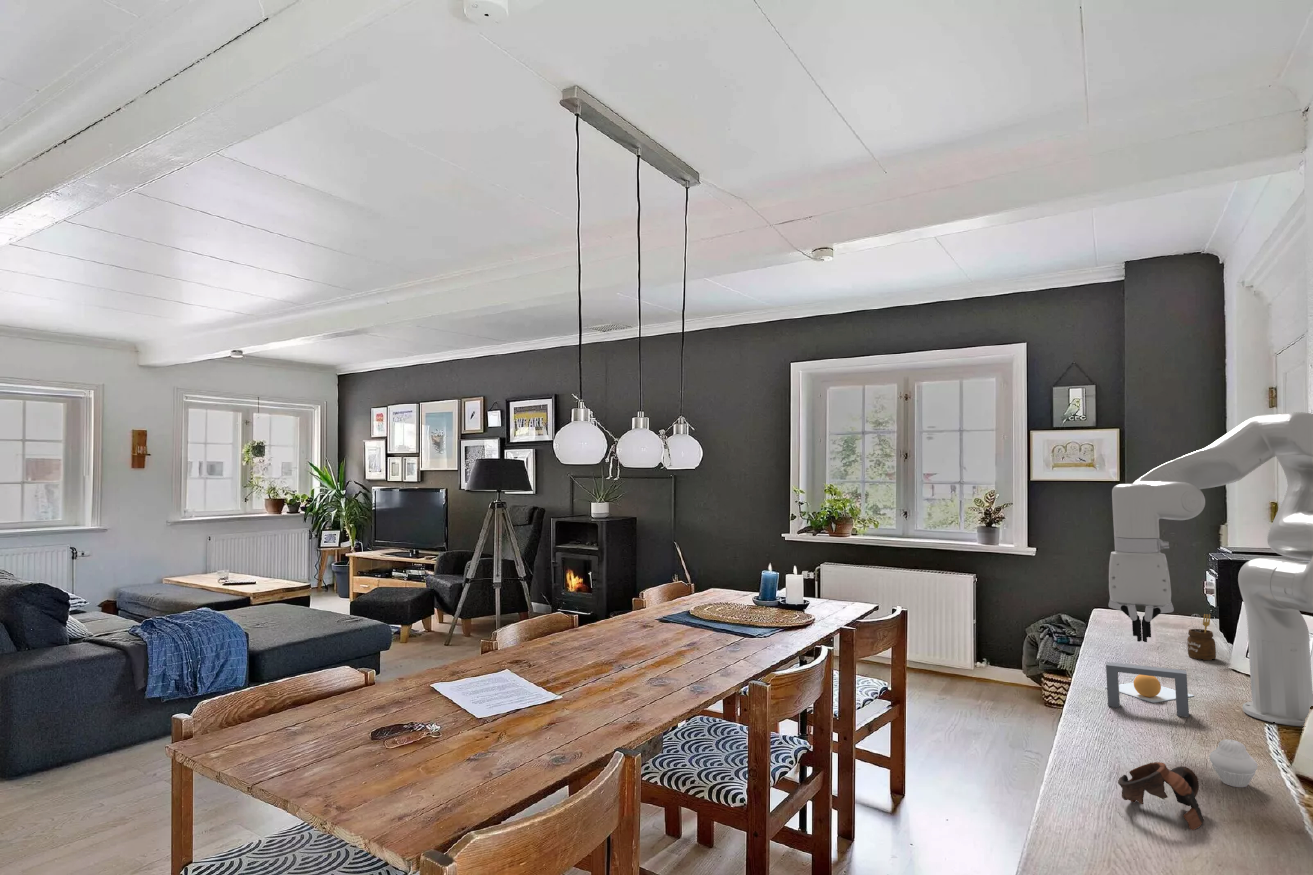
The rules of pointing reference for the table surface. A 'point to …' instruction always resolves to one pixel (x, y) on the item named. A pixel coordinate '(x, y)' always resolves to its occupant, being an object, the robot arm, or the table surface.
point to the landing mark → (1163, 695)
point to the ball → (1147, 685)
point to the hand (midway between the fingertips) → (1142, 640)
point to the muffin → (1233, 763)
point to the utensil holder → (1201, 641)
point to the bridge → (1177, 674)
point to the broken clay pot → (1153, 783)
